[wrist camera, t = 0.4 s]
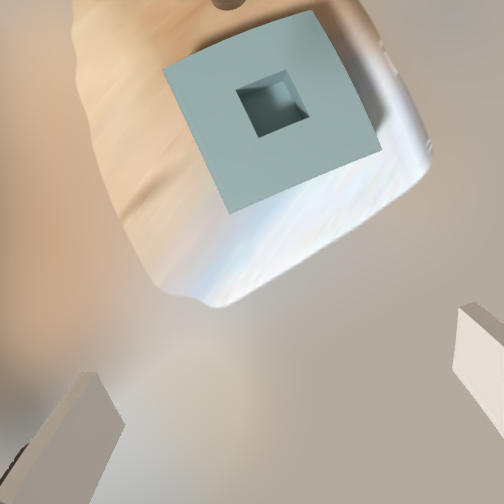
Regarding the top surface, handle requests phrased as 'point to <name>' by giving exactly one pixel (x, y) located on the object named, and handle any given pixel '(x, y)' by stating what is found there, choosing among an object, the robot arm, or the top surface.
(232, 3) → the pin
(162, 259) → the top surface
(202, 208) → the top surface
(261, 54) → the bore block
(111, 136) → the top surface
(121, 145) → the top surface
